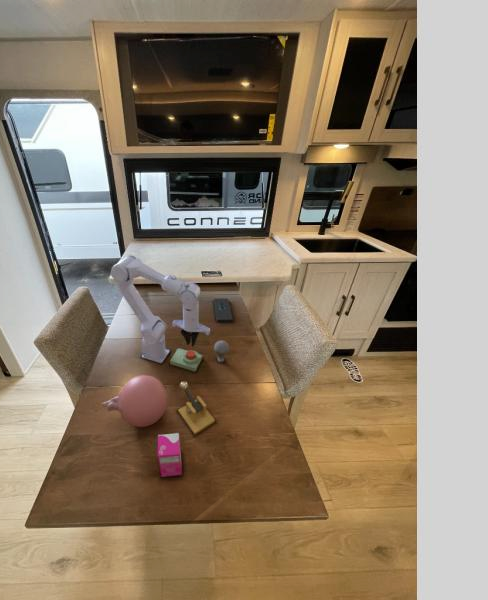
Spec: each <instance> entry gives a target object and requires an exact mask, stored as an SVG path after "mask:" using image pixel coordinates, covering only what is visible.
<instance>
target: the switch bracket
mask: <svg viewBox="0 0 488 600" xmlns="http://www.w3.org/2000/svg"><path fill="white" fill-rule="evenodd" d="M194 400H195V402H197V401H198V402H199V404H200V406H201V408H202V410H201V411H200V412H198V413H196V410H195V409H194V408H193V406H192V403H191V402H190V401H187V402H186V403H185V405H184V406H182V407H180V408H179V409H177V411H178V413H179V415H180V417H182V419H183V420H184V422H185V423H186V425H187V426H188V428H189V429H190V431H191V432H192V433H193V435H194V436H195V435H197V434H199V433H200V432H202V431H203V430H205V429H206V428H208V427H209V426H211V425H212V424H214V423H215V422H216V420H215V418H214V417H213V416H212V415H211V413H210V412H209V411H208V408H207V403H205V401H204V400H203V398H201V396H200V395H197V396H196V398H195V399H194Z"/></svg>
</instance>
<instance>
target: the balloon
mask: <svg viewBox="0 0 488 600" xmlns="http://www.w3.org/2000/svg"><path fill="white" fill-rule="evenodd" d="M163 384H164V383H162V382H161V381H160V380H159V379H158V378H156V377H154V376H151V375H145V374H144V375H143V374H142V375H137V376H134V377H132V378H131V379H129V380H128V381H127V382H126V383H125V384H124V385H123V387H122V388H121V390H120V391H119V392H118V394H117V396H114V397H112V398H110V399H109V400H106V401H105V402H104V401H103V402H102V403H101V405H102V407H106V411H109V412H111V411H117V412H118V413H120V415H121V417H122V419H123V420H124V421H125V422H127V423H128V424H129V425H131V426H134V427H137V428H144V427H148V426H151V425H153V424H155V423H156V422H158V421H159V420H160V419H161V418H162V417H163V415H164V414H165V411H166V409H167V405H168V393H167V390H166V387H165V386H164V385H163Z"/></svg>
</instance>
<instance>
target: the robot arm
mask: <svg viewBox="0 0 488 600" xmlns="http://www.w3.org/2000/svg"><path fill="white" fill-rule="evenodd" d="M110 276H111V278H112V279H113V281H114V284H115V286H116V288H117V289H118V291H119V292H120V295H122V297H123V298H124V300H125V301H126V302H127V304H128V306H129V307H130V308H131V310H132V311H133V313H134V315H135V316H136V318H137V319H138V321H140V323H141V325H140V326H141V327H140V333H141V334H142V336H143V338H142V340H141V345H140V346H141V353H142V355H141V358H143V359H146V360H150V361H152V362H155V363H159V364H162V363H163V362H164V360H165V359H166V358H167V356H168V355H169V353H170V351H171V350H170V349H167V347H166V337H165V336H166V335H165V332H166V331H167V329H168V326H167V324H166V322H165V321H164V320H162V319H161V318H160V316H158V315H154V314H153V313H152V311H151V309H150V308H149V306H148V305H147V303H146V302H145V300H144V299H143V297H142V296H141V294H140V292H139V291H138V290H137V288H136V286H135V285H134V283H133V281H134V279H137V278H142V279H145V280H148V281H149V282H152V283H155V284H157V285H160V286H161V288H162V290H163V291H165V292H167V293H169V294H171V295H173V296H175V297H177V298H179V300H180V302H181V303H182V319H174V320H173V321H172V327H174V328H175V327H178V328H180V329H181V331H180V334H181V335H182V336H183V338H184V340H185V342H186V345H187V346H190V343H191V346H192V347H195V345H196V342H197V338H198V337H199V334H200V333H202V334H205V335H206V336H209V335H210V333H211V328H210V327H207V326H206V325H204V324H202V323H200V322H199V321H200V318H199V317H200V312H199V311H200V303H199V302H200V301H199V297H200V295H201V292H202V289H201V287H200V286H199V285H198V284H197V283H195V282H192V281H191V282H187V281H183V280H181V279H179V278H178V277H177V276H176V275H174V274H172V275H171V274H168V275H164V274H163V273H161V272H159V271H157V270H155V269H154V268H153V267H151V266H149V265H147V264H145V263H144V262H143V260H142V259H141V258H138V257H136V256H135V255H132V254H128V255H126V256H125V257H124V258H123V259H121V260H120V261H119V262H117V263H116V264H114V265H113V266H111V271H110Z"/></svg>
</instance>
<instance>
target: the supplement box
mask: <svg viewBox="0 0 488 600" xmlns="http://www.w3.org/2000/svg"><path fill="white" fill-rule="evenodd" d="M180 443H181V442H180V433H179V432H175V433H167V434H158V435H157V459H158V465H159V471H160V477H161V478H167V477H168V478H169V477H177V476H182V475H183V469H182V467H183V466H182V455H181V454H182V453H181V444H180Z"/></svg>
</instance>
